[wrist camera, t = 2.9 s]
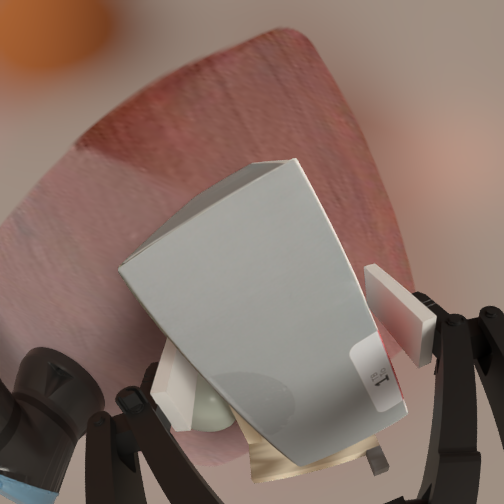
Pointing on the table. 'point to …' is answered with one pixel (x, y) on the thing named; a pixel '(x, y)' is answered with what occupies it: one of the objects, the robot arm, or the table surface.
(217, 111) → the table surface
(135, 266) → the hard drive box
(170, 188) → the table surface
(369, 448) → the shelf bay
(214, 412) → the pale green rounded part
